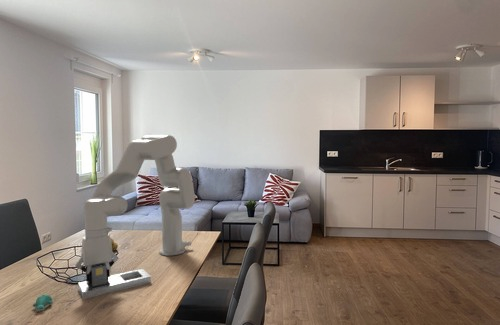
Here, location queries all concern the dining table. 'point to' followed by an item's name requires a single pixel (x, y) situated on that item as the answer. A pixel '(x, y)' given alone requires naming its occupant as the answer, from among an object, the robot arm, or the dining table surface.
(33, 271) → the dining table surface
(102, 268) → the block
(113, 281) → the rail
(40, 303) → the whale figurine
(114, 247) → the bread roll
